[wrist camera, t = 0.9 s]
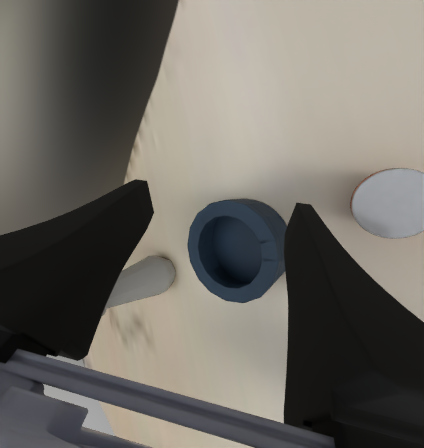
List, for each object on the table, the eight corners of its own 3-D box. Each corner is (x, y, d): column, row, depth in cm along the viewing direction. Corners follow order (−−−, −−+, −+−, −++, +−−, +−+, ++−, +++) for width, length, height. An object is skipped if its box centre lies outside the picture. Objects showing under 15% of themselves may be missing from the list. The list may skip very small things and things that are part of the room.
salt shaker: (154, 248, 34) (63, 273, 24) (180, 257, 31) (88, 291, 21) (154, 281, 36) (67, 318, 25) (178, 293, 32) (91, 342, 22)
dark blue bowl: (313, 238, 20) (303, 249, 17) (256, 303, 25) (237, 322, 21) (237, 182, 24) (214, 180, 21) (199, 246, 29) (175, 254, 25)
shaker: (432, 193, 15) (473, 194, 10) (387, 234, 17) (400, 255, 11) (378, 165, 17) (386, 151, 11) (342, 205, 19) (333, 211, 13)
